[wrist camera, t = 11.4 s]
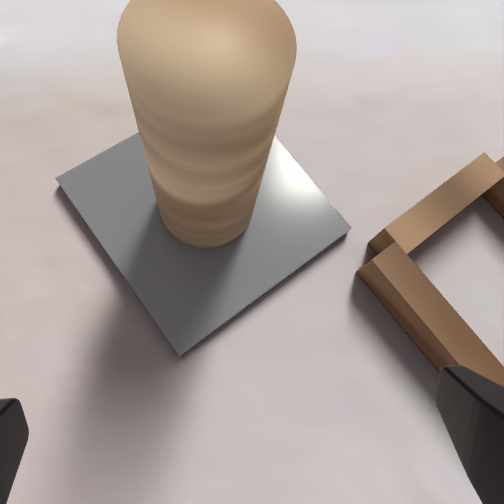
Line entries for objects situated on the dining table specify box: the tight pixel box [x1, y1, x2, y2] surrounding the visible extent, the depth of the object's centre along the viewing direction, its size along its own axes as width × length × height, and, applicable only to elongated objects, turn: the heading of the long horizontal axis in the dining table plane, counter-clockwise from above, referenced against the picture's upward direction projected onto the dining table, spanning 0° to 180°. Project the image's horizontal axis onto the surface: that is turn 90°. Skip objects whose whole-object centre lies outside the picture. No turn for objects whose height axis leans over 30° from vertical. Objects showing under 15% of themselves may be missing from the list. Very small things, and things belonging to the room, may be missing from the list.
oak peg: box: [117, 0, 297, 249], centre depth 15 cm, size 4×4×10 cm
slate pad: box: [55, 132, 351, 357], centre depth 20 cm, size 10×10×1 cm
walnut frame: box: [356, 152, 504, 387], centre depth 20 cm, size 10×10×2 cm
